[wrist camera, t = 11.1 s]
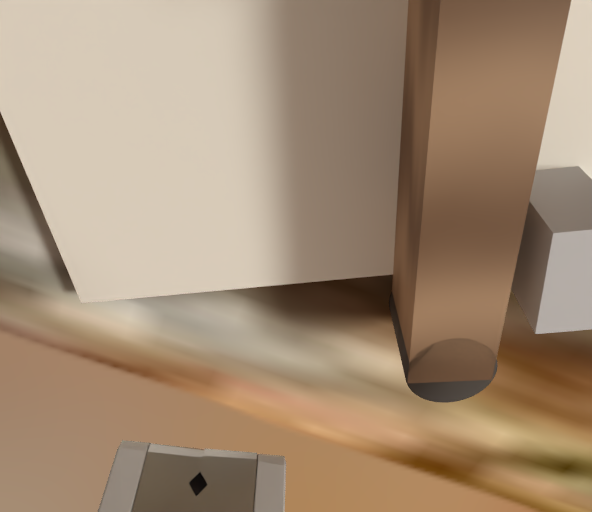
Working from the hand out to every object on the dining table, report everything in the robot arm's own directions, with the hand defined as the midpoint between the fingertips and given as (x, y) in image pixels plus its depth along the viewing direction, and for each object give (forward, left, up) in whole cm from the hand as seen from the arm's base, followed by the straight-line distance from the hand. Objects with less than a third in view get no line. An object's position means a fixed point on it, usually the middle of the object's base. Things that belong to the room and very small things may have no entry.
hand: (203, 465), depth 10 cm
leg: (+1, +7, -11) cm, 13 cm away
